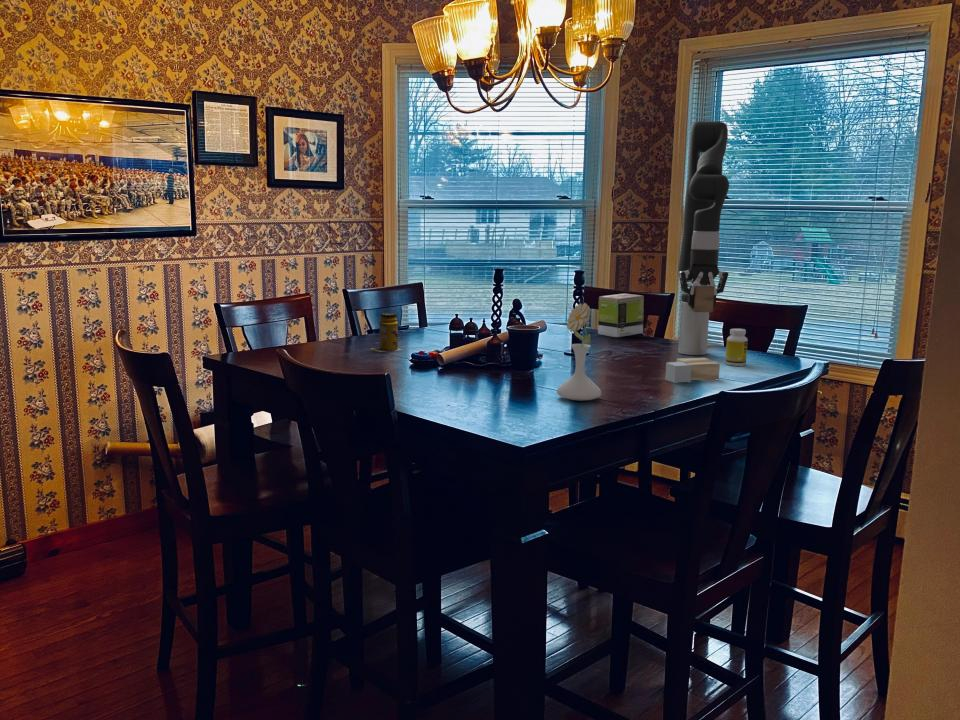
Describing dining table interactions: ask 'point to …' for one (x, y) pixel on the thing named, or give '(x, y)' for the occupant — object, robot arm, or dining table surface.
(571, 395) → the flower in vase
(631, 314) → the tea box
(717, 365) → the maple block
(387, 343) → the condiment
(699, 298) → the walnut block
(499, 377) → the dining table surface
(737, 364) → the pill bottle
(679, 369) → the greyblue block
